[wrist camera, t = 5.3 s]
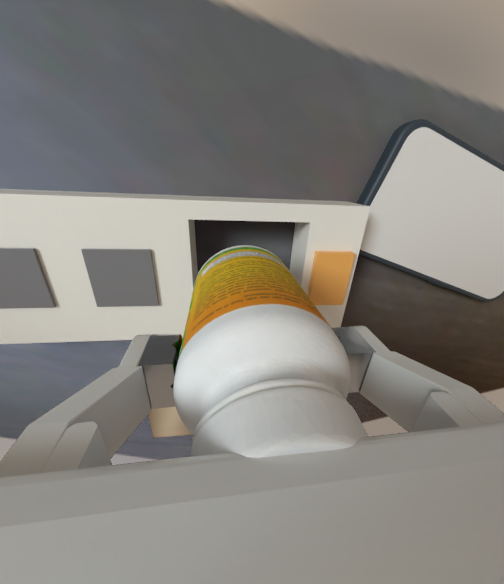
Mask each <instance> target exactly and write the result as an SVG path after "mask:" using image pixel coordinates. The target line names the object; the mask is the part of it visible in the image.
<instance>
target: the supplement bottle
mask: <svg viewBox="0 0 504 584" xmlns="http://www.w3.org/2000/svg"><path fill="white" fill-rule="evenodd" d="M350 379H351V374H350V365H349V360H348V357H347V354H346V351H345V349H344V347H343V345H342V344H341V342H340V340H339V339H338V337H337V336H336V334H335V332H334V331H333V329H332V328H331V327H330V325H329V324H328V322H327V321H326V320H325V318H324V317H323V316H322V314H321V313H320V312H319V310H318V309H317V308H316V306H315V305H314V304H313V302H312V301H311V300H310V298H309V297H308V296H307V294H306V293H305V292H304V290H303V289H302V287H301V286H300V285H299V283H298V282H297V281H296V279H295V278H294V276H293V275H292V274H291V272H290V271H289V269H288V268H287V267H286V265H285V264H284V263H283V262H282V261H281V260H280V259H279V258H278V257H277V256H276V255H274V254H273V253H271V252H270V251H268V250H266V249H263V248H260V247H257V246H250V245H241V246H234V247H230V248H227V249H224V250H222V251H220V252H218V253H216V254H215V255H214V256H212V257H211V258H210V259H209V260H208V261H207V262H206V263H205V264H204V265H203V266H202V268H201V269H200V271H199V273H198V275H197V278H196V280H195V284H194V288H193V293H192V298H191V303H190V307H189V313H188V317H187V322H186V326H185V331H184V335H183V340H182V345H181V349H180V353H179V357H178V362H177V366H176V372H175V378H174V386H173V393H174V401H175V406H176V409H177V412H178V414H179V417H180V419H181V420H182V422H183V424H184V425H185V427H186V428H187V429H188V430H189V431H190V432H191V434H193V441H192V448H191V454H190V457H191V456H200V455H209V454H218V453H236V454H240V455H243V456H245V457H252V458H261V457H271V456H280V455H289V454H298V453H307V452H317V451H327V450H337V449H343V448H348V447H351V446H353V445H354V444H355V442H356V441H357V440H358V439H359V438H363V437H369V436H368V435H367V433H366V431H365V429H364V428H363V426H362V423H361V421H360V419H359V417H358V415H357V413H356V412H355V410H354V409H353V407H352V406H351V405H350V404H349V403H348V402H347V400H346V398H347V395H348V392H349V387H350Z"/></svg>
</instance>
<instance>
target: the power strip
mask: <svg viewBox="0 0 504 584" xmlns="http://www.w3.org/2000/svg"><path fill="white" fill-rule="evenodd" d="M370 207H371V206H366V205H361V204H356V203H351V202H347V201H320V200H293V199H265V198H238V197H211V196H184V195H157V194H130V193H103V192H76V191H49V190H22V189H0V344H20V343H50V342H80V341H110V340H133V338H134V337H135V336H136V335H147V334H151V335H152V334H181V335H182V338H183V335H184V331H185V326H186V322H187V317H188V313H189V307H190V303H191V298H192V293H193V288H194V284H195V280H196V278H197V275H198V268H197V252H196V236H195V220H230V221H270V222H295V229H294V237H293V246H292V254H291V262H290V272H291V274H292V275H293V276H294V278H295V279H296V281H297V282H298V283H299V285H300V286H301V287H302V289H303V290H304V292H305V293H306V294H307V296H308V297H309V298H310V300H311V301H312V302H313V304H314V305H315V306H316V308H317V309H318V310H319V312H320V313H321V314H322V316H323V317H324V318H325V320H326V321H327V322H328V324H329V325H330V327H331V328H334V327H341V323H342V319H343V315H344V311H345V307H346V303H347V299H348V295H349V291H350V287H351V283H352V279H353V275H354V271H355V267H356V263H357V259H358V255H359V251H360V247H361V243H362V239H363V235H364V231H365V227H366V223H367V219H368V215H369V211H370Z"/></svg>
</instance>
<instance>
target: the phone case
mask: <svg viewBox="0 0 504 584" xmlns="http://www.w3.org/2000/svg"><path fill="white" fill-rule="evenodd" d="M357 204H361V205H366V206H371V207H370V211H369V215H368V219H367V223H366V227H365V231H364V235H363V239H362V243H361V247H360V251H359V255H362V256H365V257H367V258H370V259H373V260H375V261H378V262H380V263H383V264H386V265H388V266H391V267H394V268H396V269H399V270H401V271H404V272H407V273H409V274H412V275H414V276H417V277H420V278H422V279H425V281H427V282H429V283H432V284H435V285H437V286H440V287H443V288H449V289H451V290H454V291H456V292H459V293H462V294H464V295H467V296H469V297H472V298H475V299H477V300H480V301H483V302H489V301H493V300H495V299H497V298H499V297H500V296H501V295H503V294H504V166H503V165H502V164H500V163H498V162H497V161H495V160H493V159H491V158H490V157H488V156H486V155H485V154H483V153H481V152H480V151H478V150H476V149H475V148H473V147H471V146H469V145H468V144H466V143H464V142H463V141H461V140H459V139H458V138H456V137H454V136H453V135H451V134H449V133H447V132H446V131H444V130H442V129H441V128H439V127H437V126H436V125H434V124H432V123H431V122H429V121H426V120H415V121H411V122H408V123H406V124H403V125H402V126H400V127H399V128H398V129H397V130H396V131H395V132H394V133H393V135H392V137H391V138H390V140H389V142H388V144H387V146H386V148H385V150H384V152H383V154H382V156H381V157H380V159H379V161H378V163H377V165H376V167H375V169H374V171H373V173H372V175H371V177H370V179H369V181H368V183H367V184H366V186H365V188H364V190H363V192H362V194H361V196H360V198H359V200H358V202H357Z"/></svg>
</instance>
